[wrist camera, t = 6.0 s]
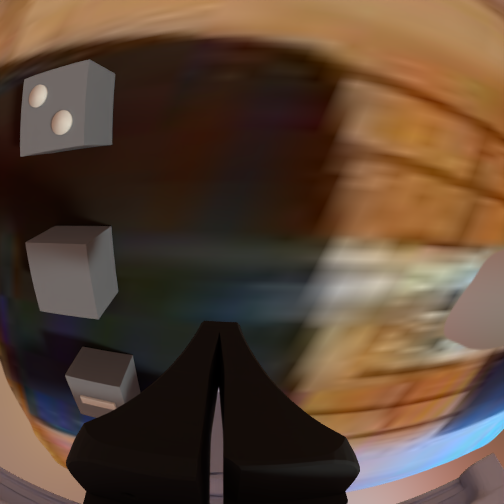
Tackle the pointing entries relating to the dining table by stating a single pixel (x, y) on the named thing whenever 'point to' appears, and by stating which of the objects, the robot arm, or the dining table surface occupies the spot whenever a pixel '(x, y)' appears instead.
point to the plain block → (73, 270)
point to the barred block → (102, 380)
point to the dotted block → (67, 109)
